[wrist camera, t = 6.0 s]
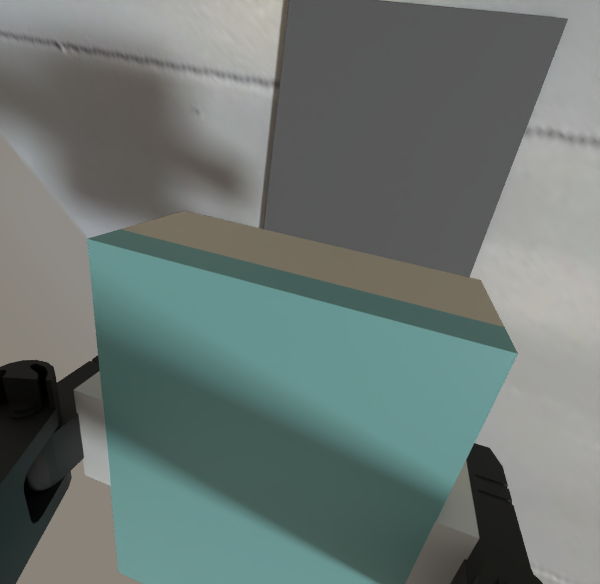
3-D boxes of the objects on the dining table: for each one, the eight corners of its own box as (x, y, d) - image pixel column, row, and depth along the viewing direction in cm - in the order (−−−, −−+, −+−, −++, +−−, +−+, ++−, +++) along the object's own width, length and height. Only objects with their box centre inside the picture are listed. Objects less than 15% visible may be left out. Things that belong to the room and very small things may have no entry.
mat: (292, -5, 19) (290, -8, 18) (564, 21, 16) (568, 18, 16) (249, 366, 29) (247, 369, 29) (413, 418, 26) (413, 422, 26)
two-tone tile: (184, 211, 9) (87, 238, 6) (480, 280, 8) (517, 353, 5) (178, 484, 13) (118, 572, 10) (369, 560, 12) (356, 683, 9)
